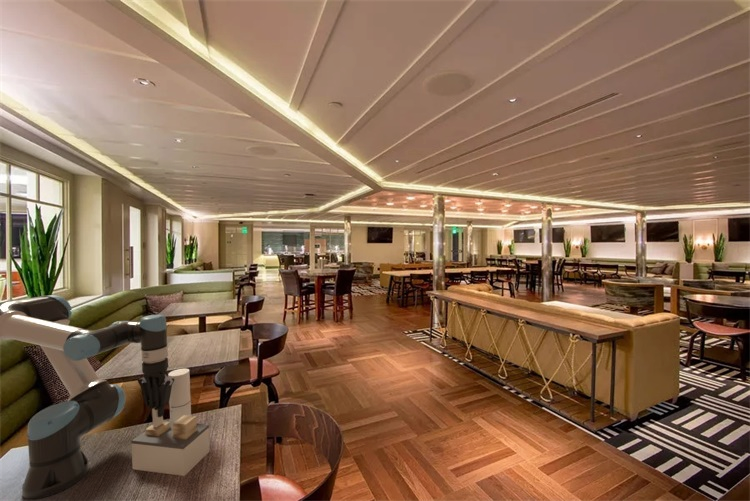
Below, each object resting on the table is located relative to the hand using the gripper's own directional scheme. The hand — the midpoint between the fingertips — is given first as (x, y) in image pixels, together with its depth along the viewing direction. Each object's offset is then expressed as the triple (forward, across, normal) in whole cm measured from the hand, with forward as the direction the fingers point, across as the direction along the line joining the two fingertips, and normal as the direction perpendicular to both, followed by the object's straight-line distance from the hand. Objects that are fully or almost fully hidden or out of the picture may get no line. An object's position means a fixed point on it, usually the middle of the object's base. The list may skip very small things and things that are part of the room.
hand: (158, 424), depth 110 cm
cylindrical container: (+12, -4, +14) cm, 19 cm away
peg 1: (+8, 0, 0) cm, 8 cm away
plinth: (+12, +5, 0) cm, 13 cm away
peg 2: (+5, +11, 0) cm, 12 cm away
